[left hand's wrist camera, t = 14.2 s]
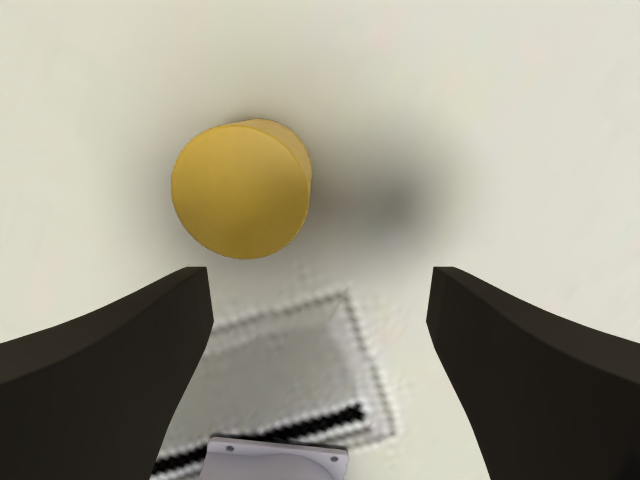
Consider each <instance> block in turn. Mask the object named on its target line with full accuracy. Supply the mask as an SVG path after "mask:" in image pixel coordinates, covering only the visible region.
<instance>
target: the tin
mask: <svg viewBox="0 0 640 480" xmlns="http://www.w3.org/2000/svg"><path fill="white" fill-rule="evenodd" d="M311 180H312V166H311V160H310V157H309V154H308V152H307V149H306V147H305V146H304V144H303V143H302V141H301V140H300V139H299V137H298V136H297V135H296V134H295V133H294V132H292V131H291V130H290V129H288V128H287V127H285V126H284V125H282V124H279V123H277V122H274V121H271V120H265V119H252V120H246V121H241V122H236V123H231V124H226V125H221V126H217V127H214V128H210V129H208V130H206V131H204V132H202V133H200V134H199V135H197V136H196V137H194V138H193V139H192V140H191V141H190V142H189V143H188V144H187V145H186V146H185V147H184V148H183V150H182V151H181V153H180V154H179V156H178V158H177V160H176V163H175V165H174V168H173V172H172V178H171V195H172V200H173V204H174V208H175V211H176V213H177V215H178V217H179V219H180V221H181V223H182V224H183V226H184V227H185V229H186V230H187V231H188V232H189V234H190V235H191V236H192V237H193V238H194V239H195V240H197V241H198V242H199V243H200V244H201V245H203V246H204V247H206V248H208V249H209V250H211V251H213V252H215V253H217V254H220V255H223V256H226V257H230V258H236V259H255V258H261V257H265V256H268V255H270V254H273V253H275V252H277V251H279V250H281V249H282V248H284V247H285V246H286V245H288V244H289V243H290V242H291V241H292V240H293V239H294V238H295V236H296V235H297V234H298V232H299V231H300V229H301V227H302V226H303V224H304V221H305V219H306V216H307V212H308V206H309V198H310V189H311Z"/></svg>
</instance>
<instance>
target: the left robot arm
mask: <svg viewBox="0 0 640 480" xmlns="http://www.w3.org/2000/svg"><path fill="white" fill-rule="evenodd" d="M213 323H214V318H213V311H212V304H211V297H210V289H209V282H208V275H207V267H185V268H182V269H180V270H178V271H175V272H173V273H171V274H169V275H167V276H165V277H163V278H161V279H159V280H157V281H155V282H153V283H151V284H149V285H148V286H146V287H144V288H142V289H140V290H138V291H136V292H134V293H132V294H130V295H127V296H125V297H123V298H121V299H119V300H117V301H115V302H113V303H111V304H108V305H106V306H104V307H102V308H100V309H97V310H95V311H93V312H90V313H88V314H86V315H83V316H81V317H78V318H75V319H73V320H70V321H68V322H65V323H62V324H60V325H57V326H54V327H51V328H48V329H45V330H42V331H39V332H35V333H32V334H29V335H26V336H23V337H20V338H17V339H14V340H10V341H7V342H4V343H0V480H149V479H150V476H151V473H152V470H153V467H154V464H155V461H156V458H157V456H158V453H159V450H160V448H161V445H162V442H163V439H164V437H165V434H166V431H167V428H168V426H169V424H170V421H171V419H172V417H173V415H174V412H175V410H176V408H177V406H178V404H179V402H180V400H181V398H182V396H183V394H184V392H185V390H186V388H187V386H188V384H189V381H190V379H191V377H192V375H193V373H194V371H195V369H196V367H197V365H198V363H199V361H200V359H201V357H202V355H203V352H204V350H205V348H206V345H207V342H208V339H209V336H210V333H211V329H212V326H213ZM426 323H427V326H428V329H429V333H430V336H431V339H432V342H433V345H434V348H435V350H436V352H437V355H438V357H439V359H440V361H441V363H442V365H443V367H444V369H445V371H446V373H447V375H448V377H449V380H450V382H451V384H452V386H453V388H454V390H455V392H456V394H457V396H458V398H459V400H460V402H461V404H462V406H463V408H464V410H465V412H466V415H467V417H468V419H469V421H470V424H471V426H472V429H473V431H474V434H475V437H476V439H477V442H478V445H479V448H480V450H481V453H482V456H483V459H484V461H485V464H486V467H487V470H488V473H489V476H490V479H491V480H640V343H637V342H633V341H630V340H627V339H623V338H620V337H617V336H614V335H610V334H607V333H604V332H601V331H598V330H595V329H592V328H589V327H586V326H584V325H581V324H578V323H576V322H573V321H570V320H568V319H565V318H562V317H560V316H557V315H555V314H552V313H550V312H547V311H545V310H543V309H541V308H538V307H536V306H534V305H532V304H530V303H527V302H525V301H523V300H521V299H519V298H517V297H515V296H512V295H510V294H508V293H506V292H504V291H502V290H500V289H498V288H497V287H495V286H493V285H491V284H489V283H487V282H485V281H483V280H481V279H479V278H477V277H475V276H473V275H471V274H469V273H467V272H465V271H463V270H460V269H458V268H455V267H433V274H432V282H431V289H430V296H429V304H428V311H427V318H426ZM348 461H349V455H348V452H347V451H345V450H340V449H330V448H321V447H311V446H301V445H291V444H281V443H272V442H262V441H252V440H242V439H232V438H222V437H213V438H211V439H209V442H208V445H207V454H206V457H205V460H204V463H203V466H202V469H201V472H200V476H199V479H198V480H344V477H345V473H346V469H347V465H348Z"/></svg>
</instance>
